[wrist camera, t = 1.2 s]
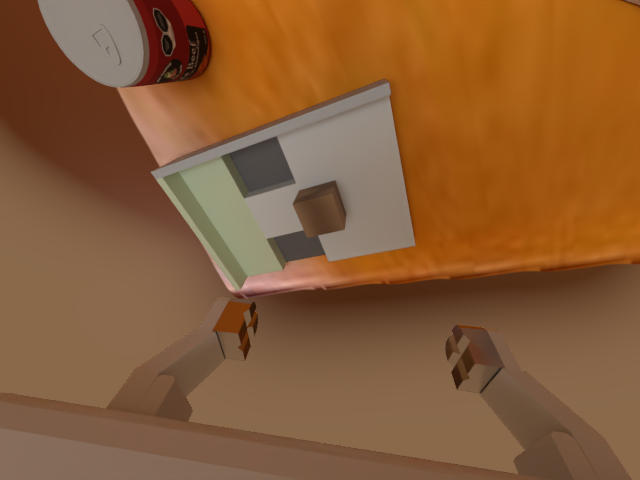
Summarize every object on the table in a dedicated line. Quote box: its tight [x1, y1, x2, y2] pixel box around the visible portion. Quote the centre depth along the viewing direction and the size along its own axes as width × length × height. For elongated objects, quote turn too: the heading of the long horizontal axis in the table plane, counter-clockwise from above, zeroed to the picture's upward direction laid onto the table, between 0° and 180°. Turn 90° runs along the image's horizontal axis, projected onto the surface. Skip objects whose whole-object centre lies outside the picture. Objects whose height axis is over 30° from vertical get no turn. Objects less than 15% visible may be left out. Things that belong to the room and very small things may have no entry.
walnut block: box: [292, 180, 346, 238], centre depth 32 cm, size 5×5×4 cm
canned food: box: [38, 0, 210, 88], centre depth 23 cm, size 8×8×11 cm
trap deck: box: [151, 79, 416, 290], centre depth 35 cm, size 29×21×6 cm
